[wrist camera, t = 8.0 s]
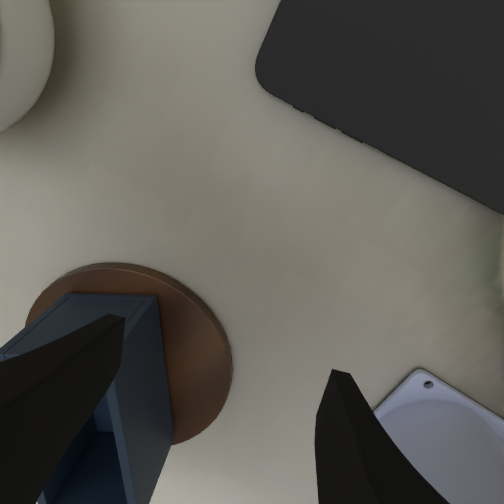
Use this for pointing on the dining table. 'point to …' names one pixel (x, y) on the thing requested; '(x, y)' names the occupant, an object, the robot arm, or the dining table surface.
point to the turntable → (166, 337)
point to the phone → (400, 81)
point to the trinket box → (23, 56)
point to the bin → (111, 404)
